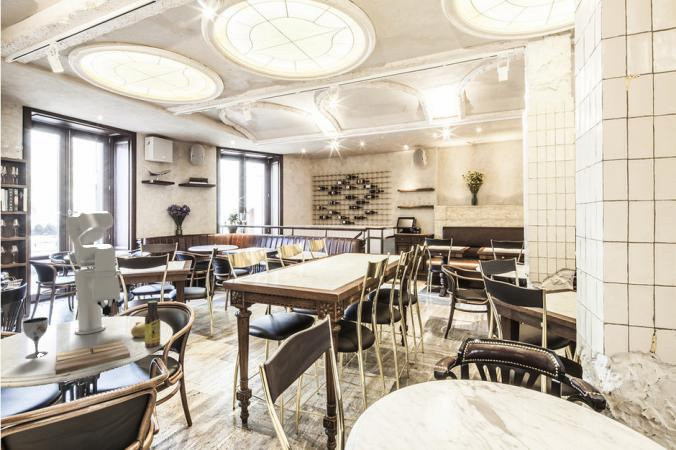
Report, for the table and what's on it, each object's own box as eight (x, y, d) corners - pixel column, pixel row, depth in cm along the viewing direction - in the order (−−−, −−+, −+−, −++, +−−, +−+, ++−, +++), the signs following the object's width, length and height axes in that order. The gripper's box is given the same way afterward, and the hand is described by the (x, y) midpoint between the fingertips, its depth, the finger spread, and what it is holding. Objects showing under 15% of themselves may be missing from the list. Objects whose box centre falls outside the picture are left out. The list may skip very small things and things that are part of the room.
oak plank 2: (92, 349, 150) (91, 346, 150) (121, 343, 157) (121, 340, 157) (94, 355, 143) (94, 352, 143) (124, 348, 150) (124, 345, 150)
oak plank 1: (56, 357, 142) (56, 353, 142) (89, 350, 150) (89, 347, 150) (57, 364, 135) (57, 360, 135) (91, 356, 142) (91, 353, 142)
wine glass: (53, 352, 146) (52, 318, 145) (31, 360, 139) (30, 324, 138) (41, 350, 149) (40, 316, 148) (19, 357, 141) (17, 322, 141)
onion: (150, 332, 170) (150, 318, 170) (149, 337, 163) (149, 323, 163) (132, 335, 167) (131, 320, 167) (130, 340, 160) (129, 325, 159)
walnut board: (55, 365, 134) (55, 362, 134) (126, 349, 149) (126, 346, 149) (55, 373, 127) (55, 370, 127) (130, 356, 142) (130, 352, 142)
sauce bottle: (153, 348, 150) (152, 304, 149) (141, 347, 152) (140, 303, 151) (164, 342, 157) (163, 300, 156) (152, 341, 158) (151, 299, 157)
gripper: (124, 271, 158) (124, 310, 159) (83, 275, 148) (85, 316, 149) (126, 273, 152) (127, 314, 153) (85, 277, 142) (86, 320, 143)
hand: (106, 315), depth 151 cm, fingers closed
